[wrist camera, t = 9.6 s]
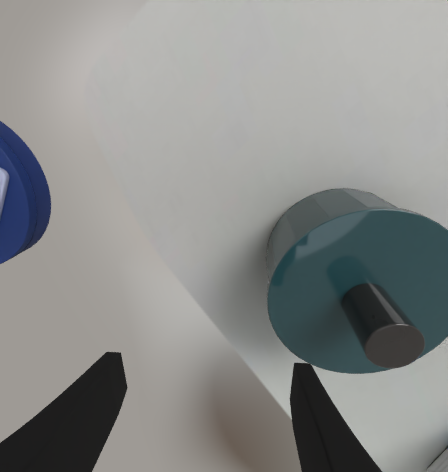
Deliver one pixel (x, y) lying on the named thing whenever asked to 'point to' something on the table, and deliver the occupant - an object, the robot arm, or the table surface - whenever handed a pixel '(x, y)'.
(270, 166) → the table surface
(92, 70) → the table surface
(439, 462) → the ink box
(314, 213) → the tin
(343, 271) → the tin lid
